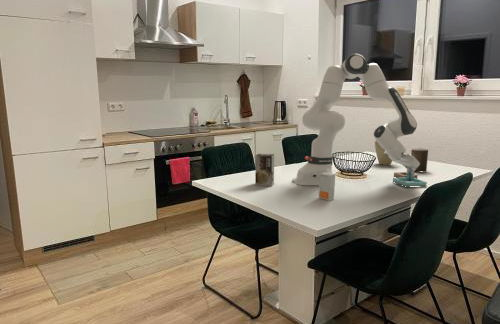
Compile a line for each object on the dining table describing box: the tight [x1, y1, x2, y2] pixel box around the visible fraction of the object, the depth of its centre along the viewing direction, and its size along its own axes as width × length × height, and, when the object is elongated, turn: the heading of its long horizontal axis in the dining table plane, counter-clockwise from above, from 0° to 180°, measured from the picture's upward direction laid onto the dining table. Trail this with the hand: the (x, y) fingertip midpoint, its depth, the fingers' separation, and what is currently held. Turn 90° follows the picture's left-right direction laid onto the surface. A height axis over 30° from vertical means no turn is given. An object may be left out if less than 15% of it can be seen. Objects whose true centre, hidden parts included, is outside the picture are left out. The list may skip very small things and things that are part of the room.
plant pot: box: [374, 139, 393, 166], centre depth 261 cm, size 15×15×16 cm
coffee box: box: [254, 153, 275, 187], centre depth 204 cm, size 9×6×16 cm
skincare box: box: [318, 172, 336, 201], centre depth 179 cm, size 6×4×12 cm
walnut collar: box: [393, 171, 419, 179], centre depth 220 cm, size 9×9×3 cm
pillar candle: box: [410, 147, 429, 172], centre depth 241 cm, size 10×10×15 cm
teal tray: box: [392, 177, 427, 187], centre depth 207 cm, size 12×12×2 cm
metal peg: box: [406, 166, 415, 181], centre depth 206 cm, size 4×4×12 cm
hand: (411, 168), depth 206 cm, fingers closed on metal peg, 3 cm apart
